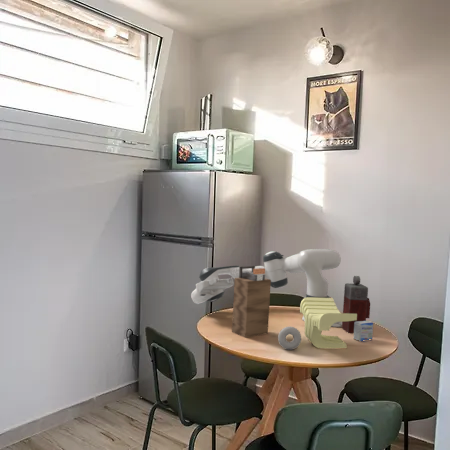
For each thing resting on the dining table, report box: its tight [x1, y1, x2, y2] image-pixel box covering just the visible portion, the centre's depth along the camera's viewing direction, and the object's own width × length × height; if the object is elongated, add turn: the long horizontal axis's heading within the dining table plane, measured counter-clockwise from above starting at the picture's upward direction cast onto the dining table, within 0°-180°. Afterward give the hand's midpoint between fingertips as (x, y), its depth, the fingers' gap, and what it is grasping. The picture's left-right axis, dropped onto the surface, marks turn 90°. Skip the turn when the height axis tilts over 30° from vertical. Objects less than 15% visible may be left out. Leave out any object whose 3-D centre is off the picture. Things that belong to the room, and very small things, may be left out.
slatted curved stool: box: [299, 297, 357, 349], centre depth 203 cm, size 30×16×18 cm, turn 6°
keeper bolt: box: [231, 268, 265, 281], centre depth 216 cm, size 20×6×5 cm, turn 37°
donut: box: [277, 325, 302, 351], centre depth 192 cm, size 10×4×10 cm, turn 89°
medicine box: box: [353, 320, 374, 342], centre depth 212 cm, size 8×4×9 cm, turn 117°
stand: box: [231, 265, 271, 338], centre depth 213 cm, size 10×14×31 cm
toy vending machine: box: [341, 275, 371, 334], centre depth 226 cm, size 9×11×28 cm
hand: (224, 279), depth 230 cm, fingers open, 8 cm apart
